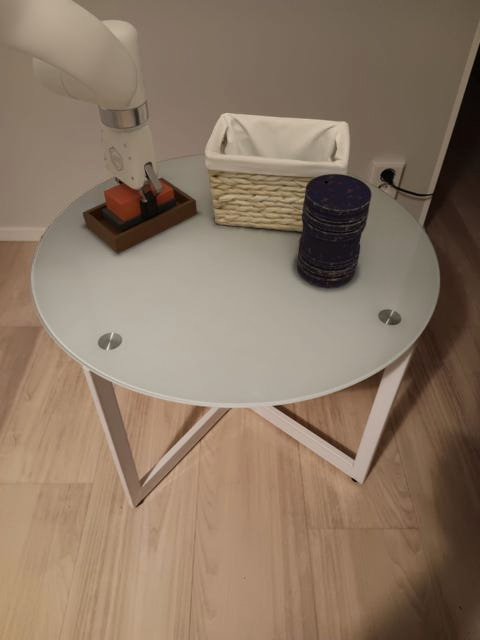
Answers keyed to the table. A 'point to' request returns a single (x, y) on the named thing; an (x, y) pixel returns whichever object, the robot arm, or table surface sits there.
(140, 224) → the tray
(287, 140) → the basket
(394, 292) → the table surface
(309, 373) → the table surface
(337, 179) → the storage jar
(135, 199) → the shoe
